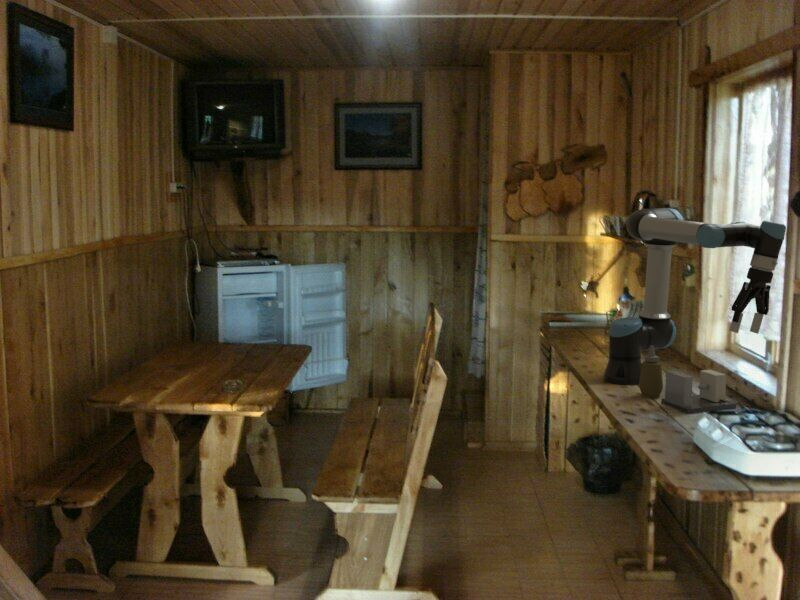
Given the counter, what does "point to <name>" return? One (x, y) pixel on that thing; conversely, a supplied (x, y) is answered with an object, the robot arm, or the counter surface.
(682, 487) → the counter surface
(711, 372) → the block
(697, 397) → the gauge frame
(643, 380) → the squeeze bottle
